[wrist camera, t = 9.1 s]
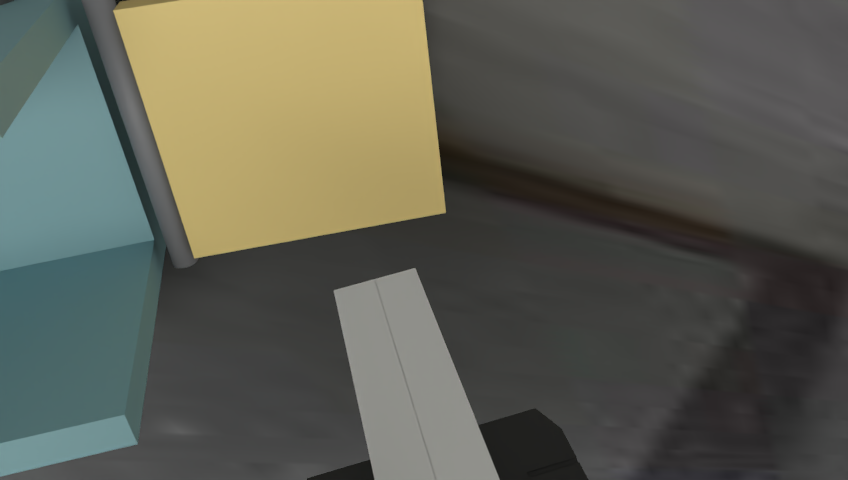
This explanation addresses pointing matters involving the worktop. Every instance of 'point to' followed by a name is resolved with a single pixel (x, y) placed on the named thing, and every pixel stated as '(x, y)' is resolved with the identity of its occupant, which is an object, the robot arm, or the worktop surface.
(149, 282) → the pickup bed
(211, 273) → the worktop surface
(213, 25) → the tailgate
